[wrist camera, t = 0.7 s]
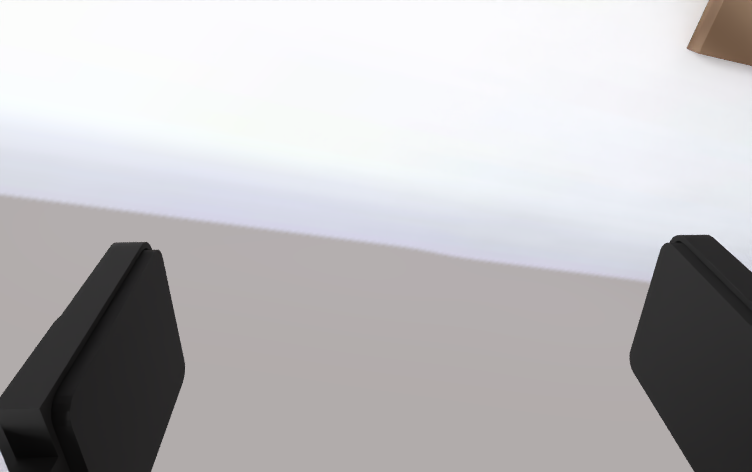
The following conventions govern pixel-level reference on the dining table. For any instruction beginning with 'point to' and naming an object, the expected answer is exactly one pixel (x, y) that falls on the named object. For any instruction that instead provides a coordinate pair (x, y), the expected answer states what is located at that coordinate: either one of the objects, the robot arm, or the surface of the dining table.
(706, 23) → the roll stand
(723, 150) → the dining table surface
